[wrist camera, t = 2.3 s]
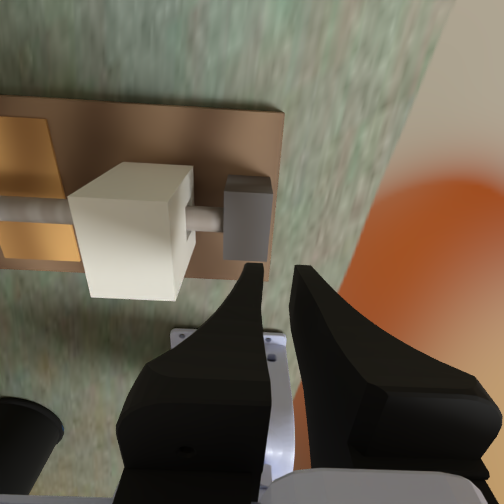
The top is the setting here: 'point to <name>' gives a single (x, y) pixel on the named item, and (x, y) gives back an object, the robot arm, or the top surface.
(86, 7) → the top surface
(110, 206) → the sleeve
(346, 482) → the robot arm
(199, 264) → the rail board
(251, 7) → the top surface
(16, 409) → the aerosol can
